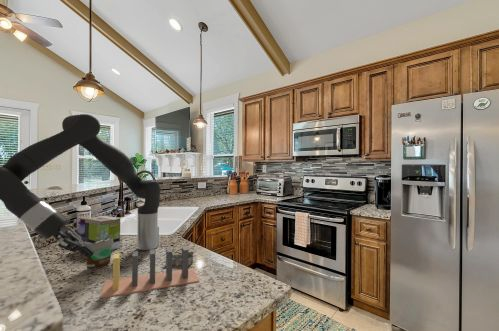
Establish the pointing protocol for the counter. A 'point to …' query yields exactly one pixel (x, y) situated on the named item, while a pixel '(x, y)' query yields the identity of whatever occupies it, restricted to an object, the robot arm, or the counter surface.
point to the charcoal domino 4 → (184, 262)
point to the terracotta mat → (148, 283)
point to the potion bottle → (81, 228)
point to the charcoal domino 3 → (169, 264)
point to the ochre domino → (116, 271)
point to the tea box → (102, 230)
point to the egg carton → (178, 259)
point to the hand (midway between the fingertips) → (91, 255)
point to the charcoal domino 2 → (152, 266)
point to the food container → (100, 253)
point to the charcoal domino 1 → (135, 269)
